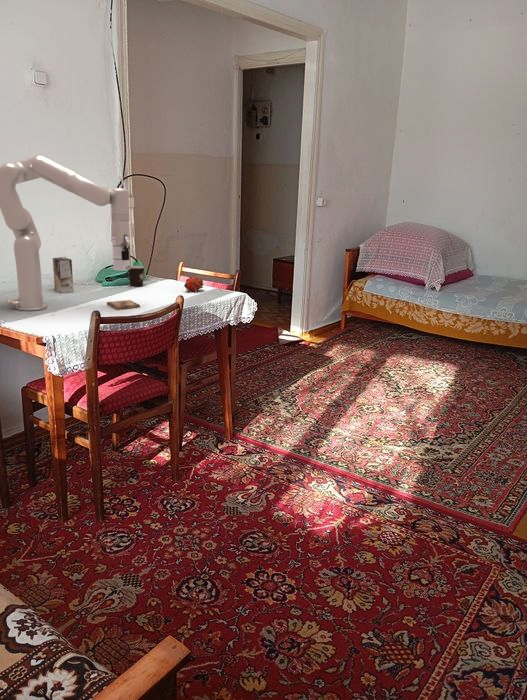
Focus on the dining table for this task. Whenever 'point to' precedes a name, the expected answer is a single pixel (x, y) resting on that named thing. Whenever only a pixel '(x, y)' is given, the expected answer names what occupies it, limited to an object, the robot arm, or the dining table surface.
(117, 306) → the walnut board
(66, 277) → the coffee box
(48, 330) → the dining table surface
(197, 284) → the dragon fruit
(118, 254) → the syrup box
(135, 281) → the coffee mug
